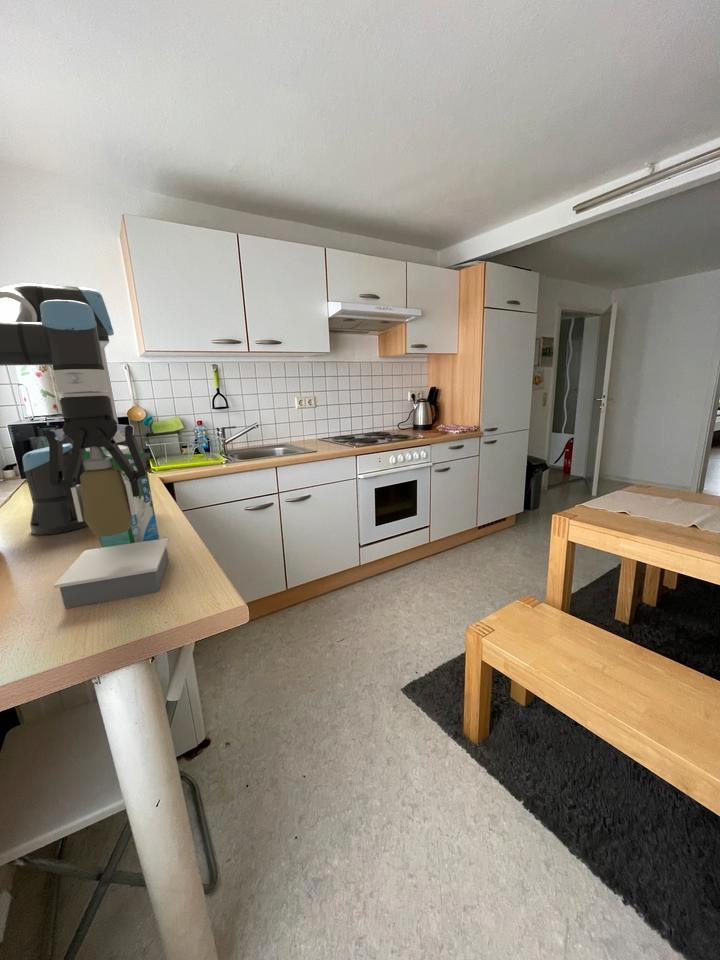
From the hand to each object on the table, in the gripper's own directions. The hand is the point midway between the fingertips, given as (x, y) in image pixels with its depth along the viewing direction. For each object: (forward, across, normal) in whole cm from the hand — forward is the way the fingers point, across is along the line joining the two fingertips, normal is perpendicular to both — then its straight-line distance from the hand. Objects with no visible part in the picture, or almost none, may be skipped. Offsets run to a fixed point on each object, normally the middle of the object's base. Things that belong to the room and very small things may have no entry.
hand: (109, 515), depth 75 cm
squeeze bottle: (+3, 0, 0) cm, 3 cm away
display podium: (+14, 0, 0) cm, 14 cm away
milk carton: (+14, -3, +23) cm, 27 cm away
